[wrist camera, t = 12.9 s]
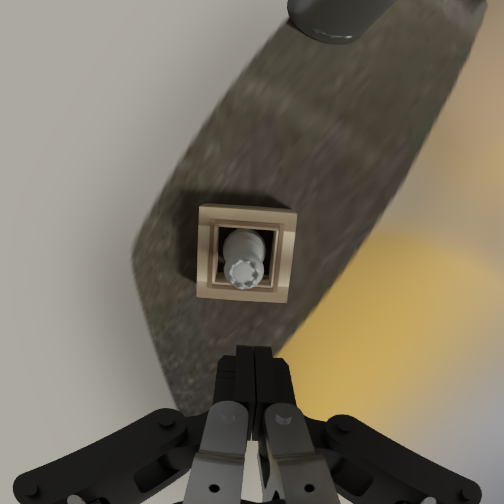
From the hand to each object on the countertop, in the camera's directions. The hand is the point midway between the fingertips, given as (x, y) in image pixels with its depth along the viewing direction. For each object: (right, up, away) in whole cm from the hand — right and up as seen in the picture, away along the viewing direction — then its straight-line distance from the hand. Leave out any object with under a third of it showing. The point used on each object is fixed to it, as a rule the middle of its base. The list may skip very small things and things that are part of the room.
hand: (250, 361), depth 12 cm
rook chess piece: (-1, +5, +19) cm, 19 cm away
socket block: (-1, +5, +18) cm, 19 cm away
